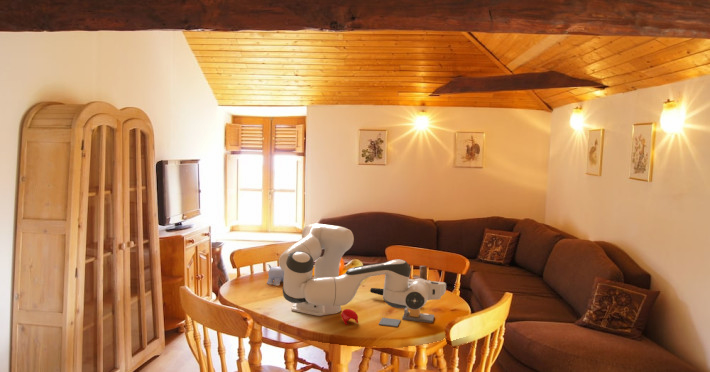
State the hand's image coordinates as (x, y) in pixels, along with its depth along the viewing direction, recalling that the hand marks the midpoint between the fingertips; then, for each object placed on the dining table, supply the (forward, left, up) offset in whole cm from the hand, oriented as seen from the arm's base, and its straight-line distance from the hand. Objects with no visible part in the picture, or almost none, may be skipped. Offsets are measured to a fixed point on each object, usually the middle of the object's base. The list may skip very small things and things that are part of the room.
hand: (423, 281), depth 220 cm
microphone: (-16, +19, -17) cm, 30 cm away
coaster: (-13, -11, -16) cm, 23 cm away
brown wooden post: (0, -1, -7) cm, 7 cm away
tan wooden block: (-3, -1, -15) cm, 16 cm away
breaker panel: (-2, -1, -16) cm, 17 cm away
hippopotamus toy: (-80, +30, -17) cm, 87 cm away
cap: (-29, -17, -17) cm, 37 cm away
